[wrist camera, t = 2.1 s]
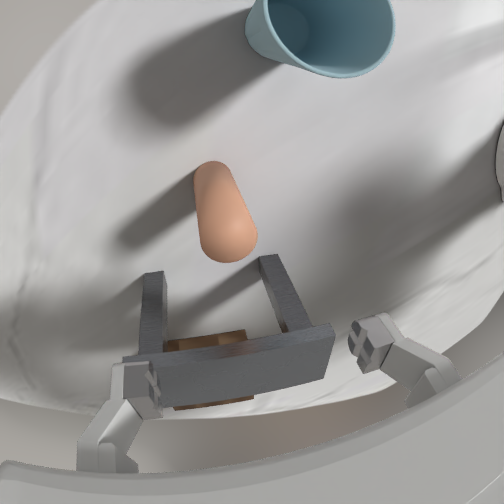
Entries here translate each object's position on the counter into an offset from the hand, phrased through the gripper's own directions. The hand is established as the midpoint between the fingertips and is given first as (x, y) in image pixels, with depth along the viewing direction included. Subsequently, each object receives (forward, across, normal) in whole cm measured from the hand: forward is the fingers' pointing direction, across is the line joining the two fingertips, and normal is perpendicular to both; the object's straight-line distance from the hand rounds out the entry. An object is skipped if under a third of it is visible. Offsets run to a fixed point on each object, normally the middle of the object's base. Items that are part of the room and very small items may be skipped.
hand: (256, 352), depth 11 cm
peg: (+18, 0, 0) cm, 18 cm away
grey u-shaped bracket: (+18, +1, +10) cm, 21 cm away
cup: (+18, -6, -13) cm, 23 cm away
